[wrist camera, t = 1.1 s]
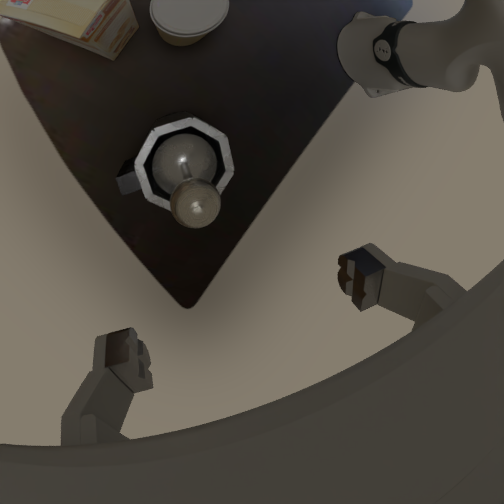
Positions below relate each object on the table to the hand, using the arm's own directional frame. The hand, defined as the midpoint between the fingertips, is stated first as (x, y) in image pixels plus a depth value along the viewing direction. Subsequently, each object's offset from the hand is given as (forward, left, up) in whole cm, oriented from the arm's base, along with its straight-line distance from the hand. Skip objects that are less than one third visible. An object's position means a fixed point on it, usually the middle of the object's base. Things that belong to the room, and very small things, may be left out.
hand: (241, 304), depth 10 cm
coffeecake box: (+9, -24, -39) cm, 46 cm away
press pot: (+2, +1, -38) cm, 38 cm away
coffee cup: (-5, -19, -38) cm, 43 cm away
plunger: (0, +1, -26) cm, 26 cm away
